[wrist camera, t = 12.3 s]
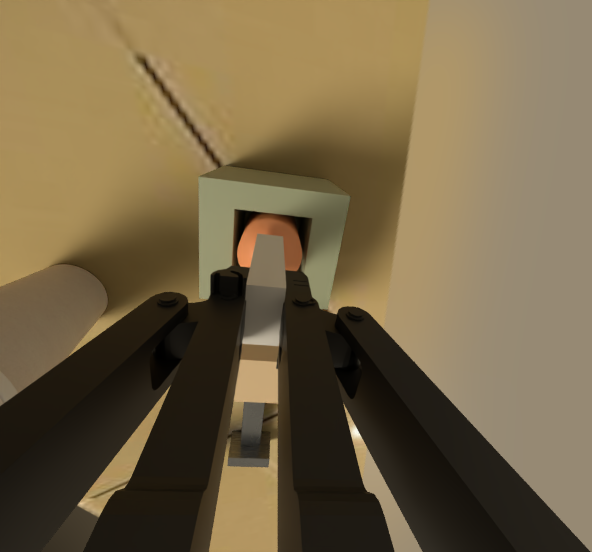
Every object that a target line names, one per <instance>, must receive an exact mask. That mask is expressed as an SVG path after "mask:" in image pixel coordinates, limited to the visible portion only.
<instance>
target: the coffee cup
mask: <svg viewBox="0 0 592 552" xmlns="http://www.w3.org/2000/svg"><path fill="white" fill-rule="evenodd" d="M107 304H108V297H107V293H106V290H105V288H104V286H103V285H102V283H101V282H100V281H99V280H98V279H97V278H96V277H95V276H94V275H93V274H91V273H90V272H88V271H86V270H85V269H82V268H80V267H77V266H74V265H68V264H59V265H54V266H51V267H48V268H46V269H43V270H41V271H38V272H36V273H33V274H31V275H28V276H26V277H24V278H21V279H19V280H16V281H14V282H11V283H9V284H6V285H4V286H2V287H0V406H1V405H2V404H4V403H5V402H7V401H8V400H9V399H11V398H12V397H13V396H15V395H16V394H18V393H19V392H20V391H22V390H23V389H25V388H26V387H27V386H29V385H30V384H31V383H33V382H34V381H36V380H37V379H38V378H40V377H41V376H43V375H44V374H45V373H47V372H48V371H50V370H51V369H52V368H54V367H55V366H56V365H58V364H59V363H61V362H62V361H63V360H65V359H66V358H67V357H68V356H69V355H70V353H71V352H72V351H73V350H74V348H75V347H76V346H77V345H78V343H79V342H80V341H81V340H82V339H83V337H84V336H85V335H86V334H87V332H88V331H89V330H90V329H91V328H92V326H93V325H94V324H95V323H96V321H97V320H98V319H99V318H100V316H101V315H102V314H103V313H104V311H105V310H106V307H107Z"/></svg>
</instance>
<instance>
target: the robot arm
mask: <svg viewBox="0 0 592 552" xmlns="http://www.w3.org/2000/svg"><path fill="white" fill-rule="evenodd" d="M242 344H254V345H268V346H279V350H278V358H277V365H276V369H278V552H394V548H393V545H392V541H391V538H390V534H389V531H388V527H387V524H386V520H385V517H384V514H383V511H382V508H381V505H380V503H379V501H378V499H377V498H376V496H375V495H374V494H372V493H370V492H367V491H366V489H365V487H364V485H363V481H362V478H361V474H360V470H359V466H358V462H357V458H356V453H355V449H354V445H353V441H352V437H351V433H350V429H349V425H348V421H347V417H346V413H345V409H344V405H345V407H346V408H347V410H348V412H349V414H350V416H351V418H352V420H353V422H354V423H355V425H356V427H357V429H358V431H359V433H360V435H361V437H362V439H363V440H364V442H365V444H366V446H367V448H368V450H369V452H370V454H371V455H372V457H373V459H374V461H375V463H376V465H377V467H378V469H379V470H380V472H381V474H382V476H383V478H384V480H385V482H386V484H387V486H388V487H389V489H390V491H391V493H392V495H393V497H394V499H395V501H396V502H397V504H398V506H399V508H400V510H401V512H402V514H403V516H404V517H405V519H406V521H407V523H408V525H409V527H410V529H411V531H412V533H413V534H414V536H415V538H416V540H417V542H418V544H419V546H420V547H421V549H422V551H423V552H590V551H589V550H588V549H587V548H586V547H585V545H583V543H582V542H581V541H580V540H579V539H578V538H577V537H576V536H575V535H574V534H573V533H572V532H571V530H570V529H569V528H568V527H567V526H566V525H565V524H564V523H563V522H562V521H561V520H560V519H559V517H558V516H556V514H555V513H554V512H553V511H552V510H551V509H550V508H549V507H548V506H547V505H546V504H545V502H544V501H543V500H542V499H541V498H540V497H539V496H538V495H537V494H536V493H535V492H534V491H533V489H532V488H531V487H530V486H529V485H528V484H527V483H526V482H525V481H524V480H523V479H522V478H521V477H520V476H519V474H518V473H517V472H516V471H515V470H514V469H513V468H512V467H511V466H510V465H509V464H508V463H507V462H506V460H505V459H504V458H503V457H502V456H501V455H500V454H499V453H498V452H497V451H496V450H495V449H494V448H493V446H492V445H491V444H490V443H489V442H488V441H487V440H486V439H485V438H484V437H483V436H482V435H481V434H480V432H478V430H477V429H476V428H475V427H474V426H473V425H472V424H471V423H470V422H469V421H468V420H467V418H466V417H465V416H464V415H463V414H462V413H461V412H460V411H459V410H458V409H457V408H456V407H455V406H454V404H452V402H451V401H450V400H449V399H448V398H447V397H446V396H445V395H444V394H443V393H442V392H441V390H439V388H438V387H437V386H436V385H435V384H434V383H433V382H432V381H431V380H430V379H429V378H428V377H427V375H426V374H425V373H424V372H423V371H422V370H421V369H420V368H419V367H418V366H417V365H416V364H415V362H413V360H412V359H411V358H410V357H409V356H408V355H407V354H406V353H405V352H404V351H403V350H402V348H401V347H399V345H398V344H397V343H396V342H395V341H394V340H393V339H392V338H391V337H390V336H389V334H388V333H387V332H386V331H385V330H384V329H383V328H382V327H381V326H380V325H379V324H378V323H377V322H376V320H375V319H374V318H373V317H372V316H371V315H370V314H369V313H367V312H366V311H364V310H362V309H360V308H358V307H357V308H356V307H348V306H347V307H342V308H340V309H339V310H338V313H337V315H336V314H332V313H329V312H326V311H323V310H321V309H320V308H319V304H318V302H317V300H316V299H314V298H313V297H312V294H311V289H310V285H309V280H308V276H307V275H305V274H304V273H303V272H300V271H289V270H285V258H284V242H283V236H275V235H266V234H257V237H256V242H255V247H254V251H253V256H252V261H251V265H250V267H241V266H230V267H228V268H227V269H222V270H217V271H214V272H213V273H212V274H211V275H210V296H209V298H208V300H206V301H203V302H197V303H188V299H187V297H186V296H185V295H183V294H180V293H174V292H164V293H161V294H157V295H155V296H153V297H151V298H149V299H148V300H146V301H145V302H144V303H142V304H141V305H140V306H138V307H137V308H135V309H134V310H133V311H131V312H130V313H128V314H127V315H126V316H124V317H123V318H122V319H120V320H119V321H117V322H116V323H115V324H113V325H112V326H110V327H109V328H108V329H106V330H105V331H104V332H102V333H101V334H99V335H98V336H97V337H95V338H94V339H92V340H91V341H90V342H88V343H87V344H86V345H84V346H83V347H81V348H80V349H79V350H77V351H76V352H74V353H73V354H72V355H70V356H69V357H68V358H66V359H65V360H63V361H62V362H61V363H59V364H58V365H56V366H55V367H54V368H52V369H51V370H50V371H48V372H47V373H45V374H44V375H43V376H41V377H40V378H38V379H37V380H36V381H34V382H33V383H31V384H30V385H29V386H27V387H26V388H25V389H23V390H22V391H20V392H19V393H18V394H16V395H15V396H13V397H12V398H11V399H9V400H8V401H7V402H5V403H4V404H2V405H1V406H0V552H41V551H42V549H43V548H44V547H45V546H46V544H47V543H48V542H49V540H50V539H51V538H52V537H53V535H54V534H55V533H56V531H57V530H58V529H59V528H60V526H61V525H62V524H63V522H64V521H65V520H66V518H67V517H68V516H69V515H70V513H71V512H72V511H73V510H74V508H75V507H76V506H77V504H78V503H79V502H80V501H81V499H82V498H83V497H84V496H85V494H86V493H87V492H88V490H89V489H90V488H91V487H92V485H93V484H94V483H95V481H96V480H97V479H98V478H99V476H100V475H101V474H102V472H103V471H104V470H105V469H106V467H107V466H108V465H109V463H110V462H111V461H112V460H113V458H114V457H115V456H116V454H117V453H118V452H119V451H120V449H121V448H122V447H123V445H124V444H125V443H126V442H127V440H128V439H129V438H130V436H131V435H132V434H133V433H134V431H135V430H136V429H137V428H138V426H139V425H140V424H141V422H142V421H143V420H144V419H145V417H146V416H147V415H148V413H149V412H150V411H151V410H152V408H153V407H154V406H155V404H156V403H157V402H158V401H159V399H160V398H161V397H162V395H163V394H164V393H165V392H166V390H167V389H168V388H169V386H170V385H171V386H170V389H169V391H168V393H167V396H166V398H165V400H164V403H163V405H162V407H161V410H160V412H159V414H158V416H157V419H156V421H155V423H154V426H153V428H152V430H151V433H150V435H149V437H148V440H147V442H146V444H145V447H144V449H143V451H142V453H141V456H140V458H139V460H138V463H137V465H136V467H135V470H134V472H133V474H132V477H131V479H130V481H129V482H128V484H127V485H126V487H125V488H124V489H121V490H117V491H115V493H114V494H113V495H112V496H111V497H110V499H109V500H108V502H107V504H106V506H105V507H104V509H103V511H102V513H101V515H100V517H99V519H98V521H97V523H96V525H95V527H94V530H93V532H92V534H91V536H90V538H89V541H88V542H87V544H86V547H85V549H84V551H83V552H209V547H210V541H211V534H212V528H213V522H214V516H215V510H216V504H217V498H218V492H219V486H220V480H221V474H222V468H223V462H224V456H225V450H226V444H227V438H228V432H229V425H230V419H231V413H232V407H233V401H234V395H235V389H236V383H237V377H238V371H239V365H240V359H241V353H242ZM343 403H344V405H343Z"/></svg>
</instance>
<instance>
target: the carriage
mask: <svg viewBox="0 0 592 552" xmlns="http://www.w3.org/2000/svg"><path fill="white" fill-rule="evenodd" d="M278 350H279V346H268V345H254V344H242V353H241V359H240V365H239V371H238V377H237V383H236V389H235V395H234V401H238V402H258V403H278V369H276V365H277V358H278Z"/></svg>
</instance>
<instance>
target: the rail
mask: <svg viewBox="0 0 592 552" xmlns="http://www.w3.org/2000/svg"><path fill="white" fill-rule="evenodd" d="M264 405H265V403H258V402H244V409H243V422H242V431H232V437H231V443H230V450H229V456H228V466H241V467H268V465H269V454H270V432H261V430H262V422H263V413H264Z"/></svg>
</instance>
